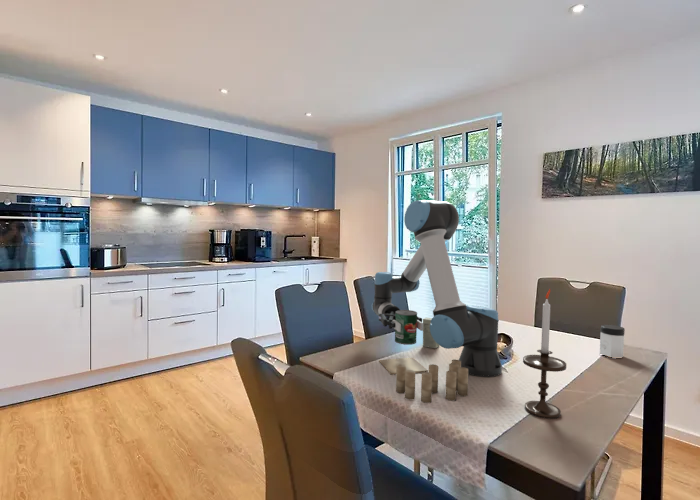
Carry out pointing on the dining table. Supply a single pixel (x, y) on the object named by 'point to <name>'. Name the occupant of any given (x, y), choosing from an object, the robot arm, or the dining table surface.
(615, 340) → the jar
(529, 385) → the dining table surface
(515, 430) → the dining table surface
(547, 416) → the candlestick
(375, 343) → the dining table surface
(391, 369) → the cork trivet
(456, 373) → the dowel field
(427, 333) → the skincare box
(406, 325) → the canned tomato
